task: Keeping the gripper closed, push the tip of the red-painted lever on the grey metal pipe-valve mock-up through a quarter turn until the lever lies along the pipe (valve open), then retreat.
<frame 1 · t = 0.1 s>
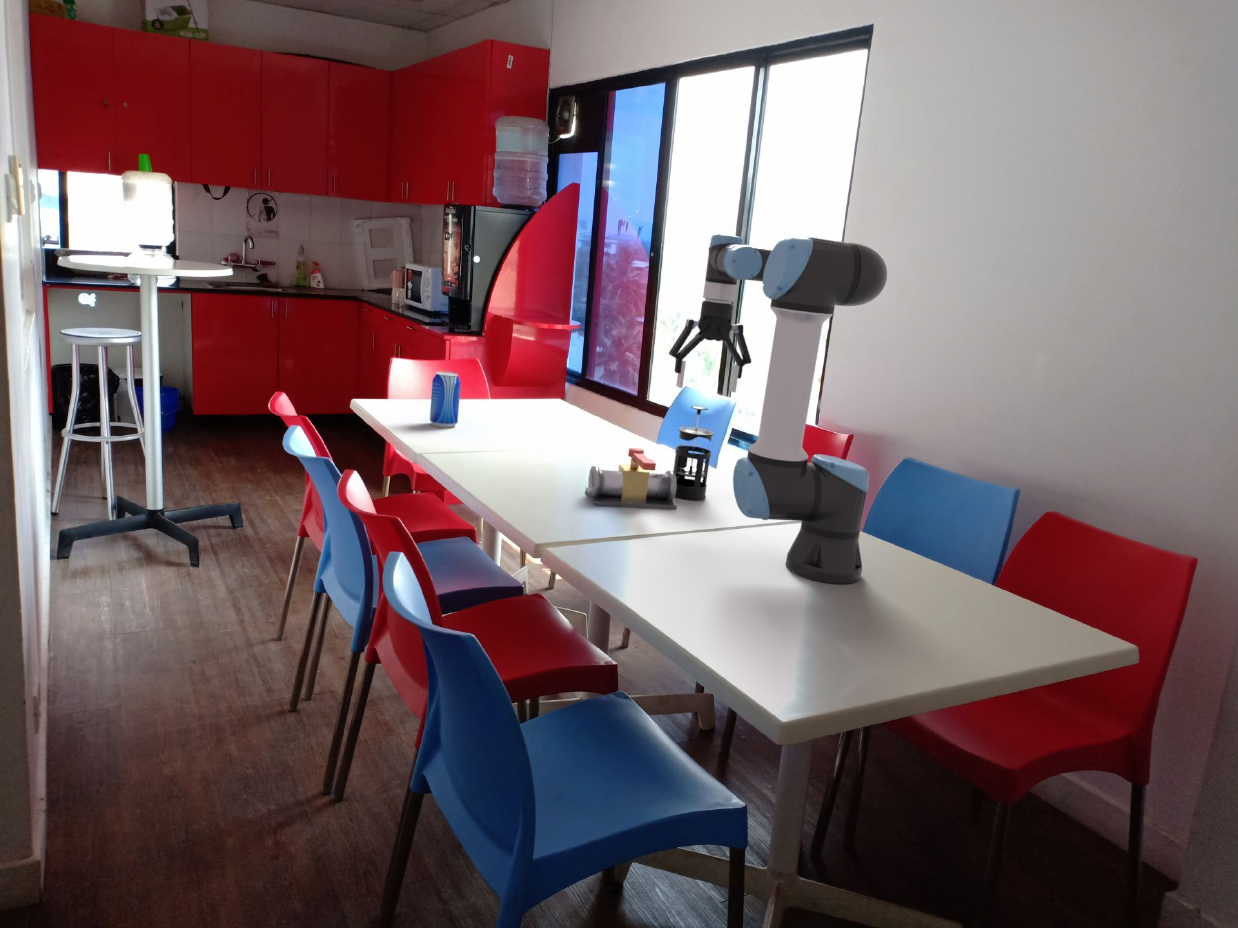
hand: (705, 389, 225), 28 cm above the table, fingers open, 13 cm apart
valve body: (630, 500, 224), on the table
lever: (641, 458, 216), point 12 cm above the table, hinge at 90.0°
beer can: (443, 425, 283), on the table
french press: (686, 495, 236), on the table
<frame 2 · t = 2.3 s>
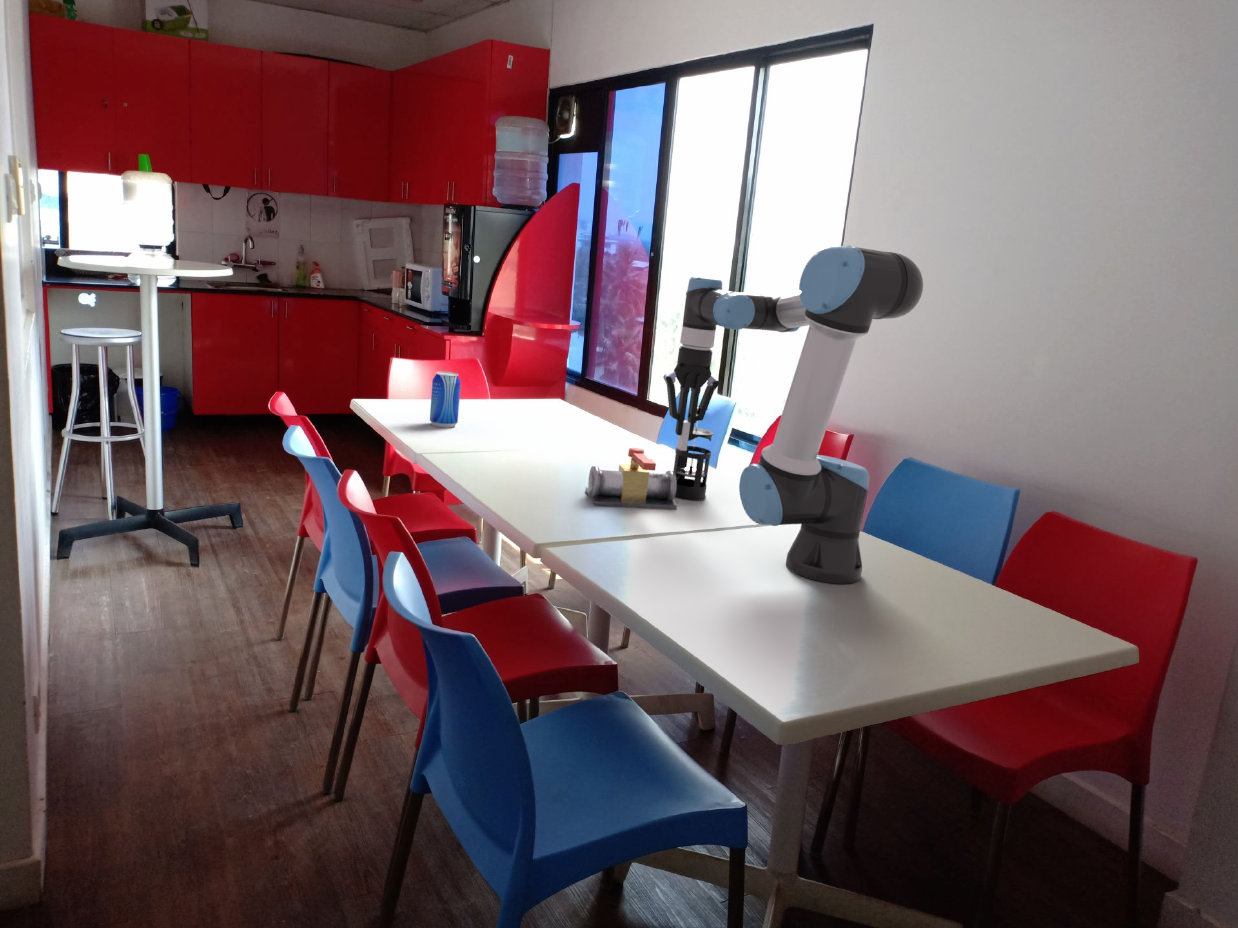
hand: (681, 449, 213), 16 cm above the table, fingers closed
nothing on the table moved.
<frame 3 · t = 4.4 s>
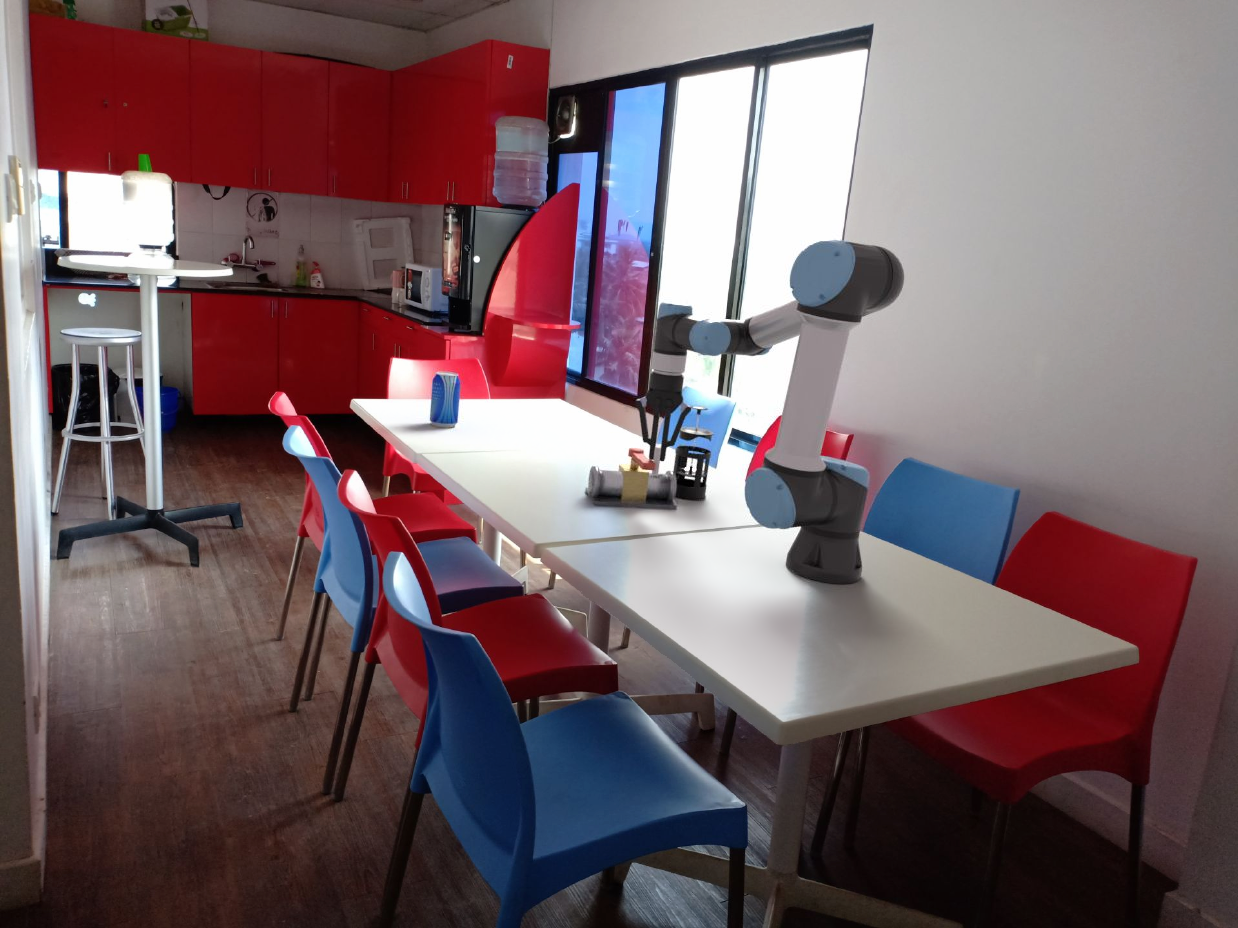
hand: (654, 473, 213), 10 cm above the table, fingers closed
lever: (641, 458, 216), point 12 cm above the table, hinge at 89.2°, touching gripper
everything else where it was.
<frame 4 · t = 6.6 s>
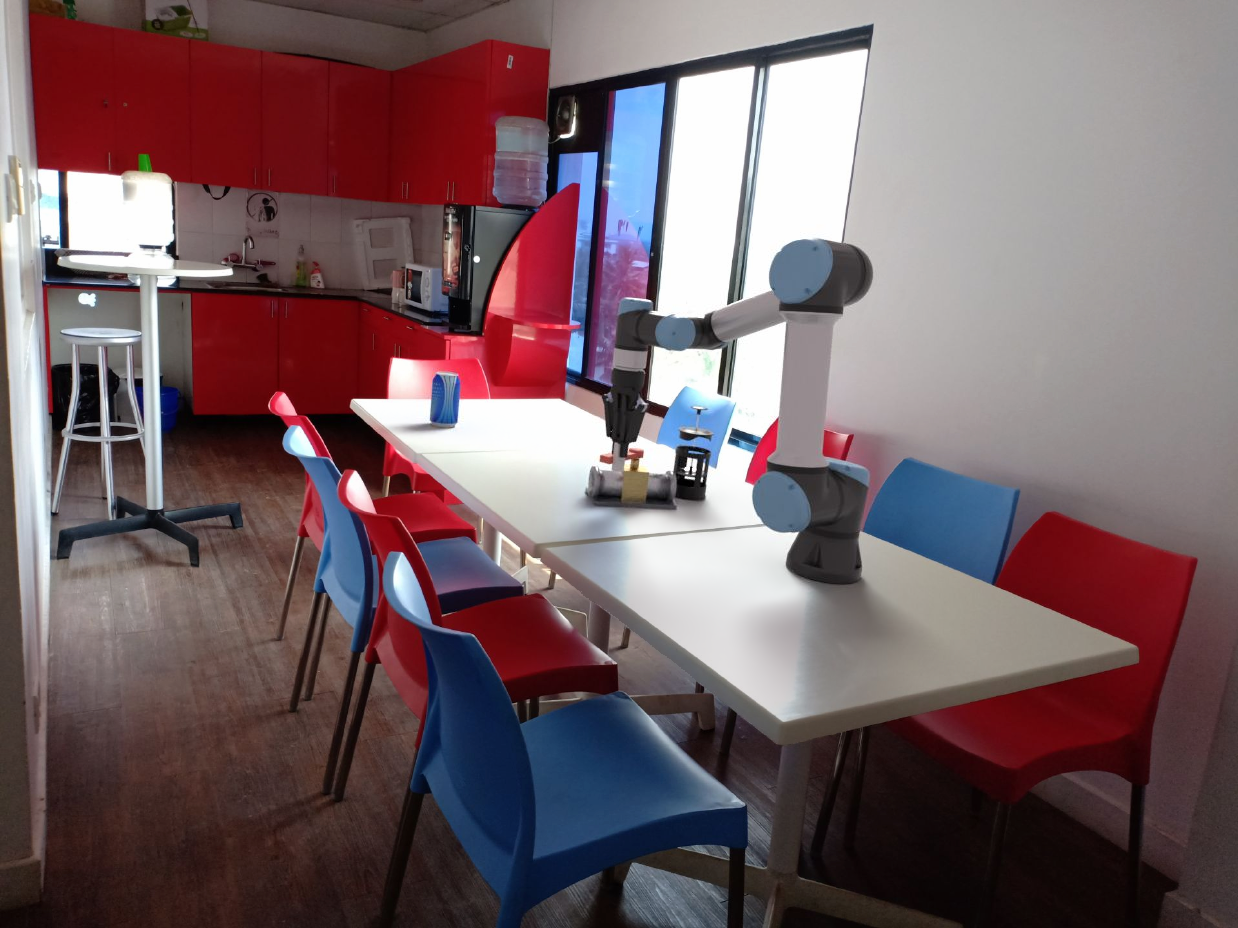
hand: (617, 470, 212), 9 cm above the table, fingers closed
lever: (623, 455, 217), point 12 cm above the table, hinge at 42.9°, touching gripper
everything else where it was.
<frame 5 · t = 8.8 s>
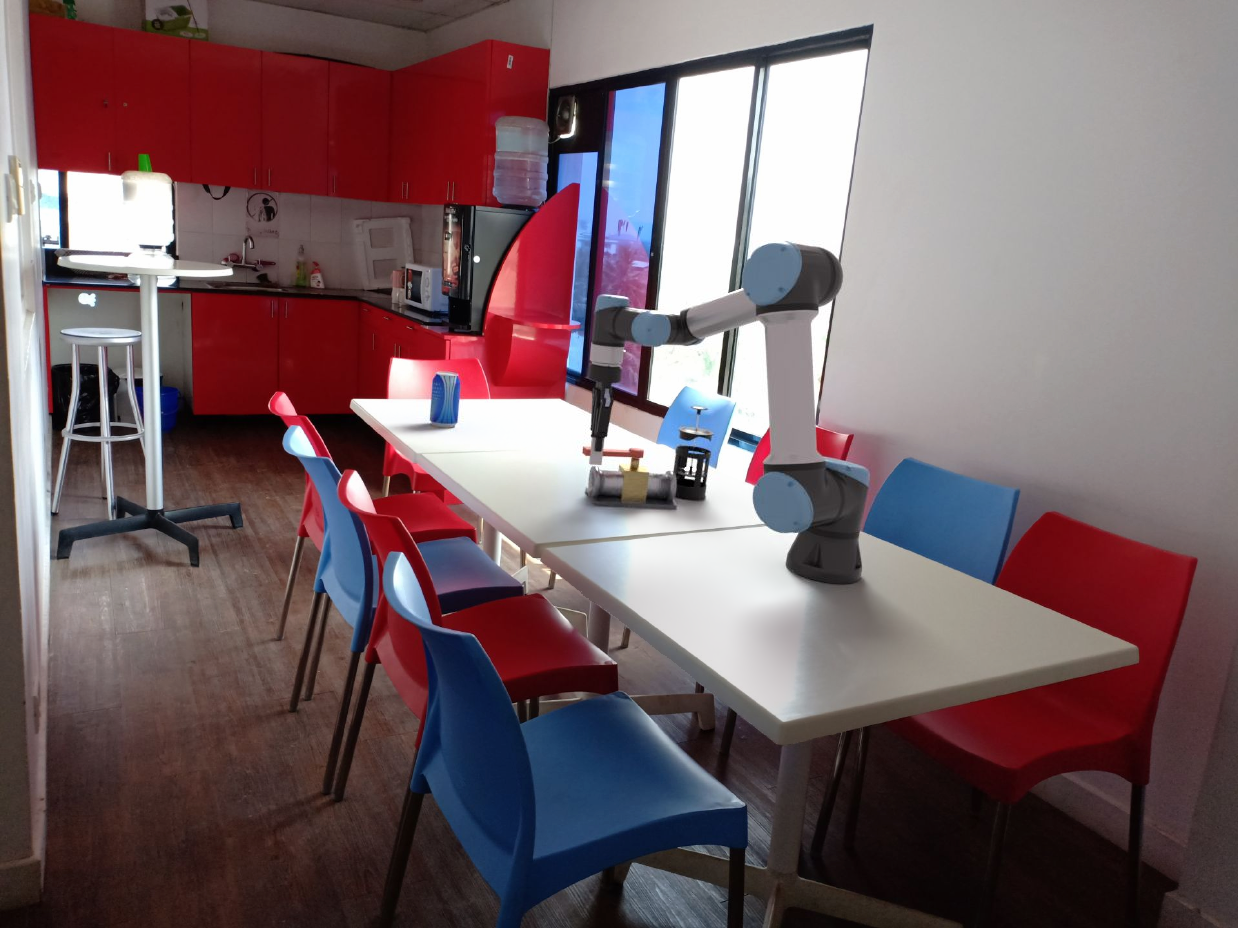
hand: (595, 463, 216), 9 cm above the table, fingers closed
lever: (614, 452, 219), point 12 cm above the table, hinge at 6.9°, touching gripper
everything else where it was.
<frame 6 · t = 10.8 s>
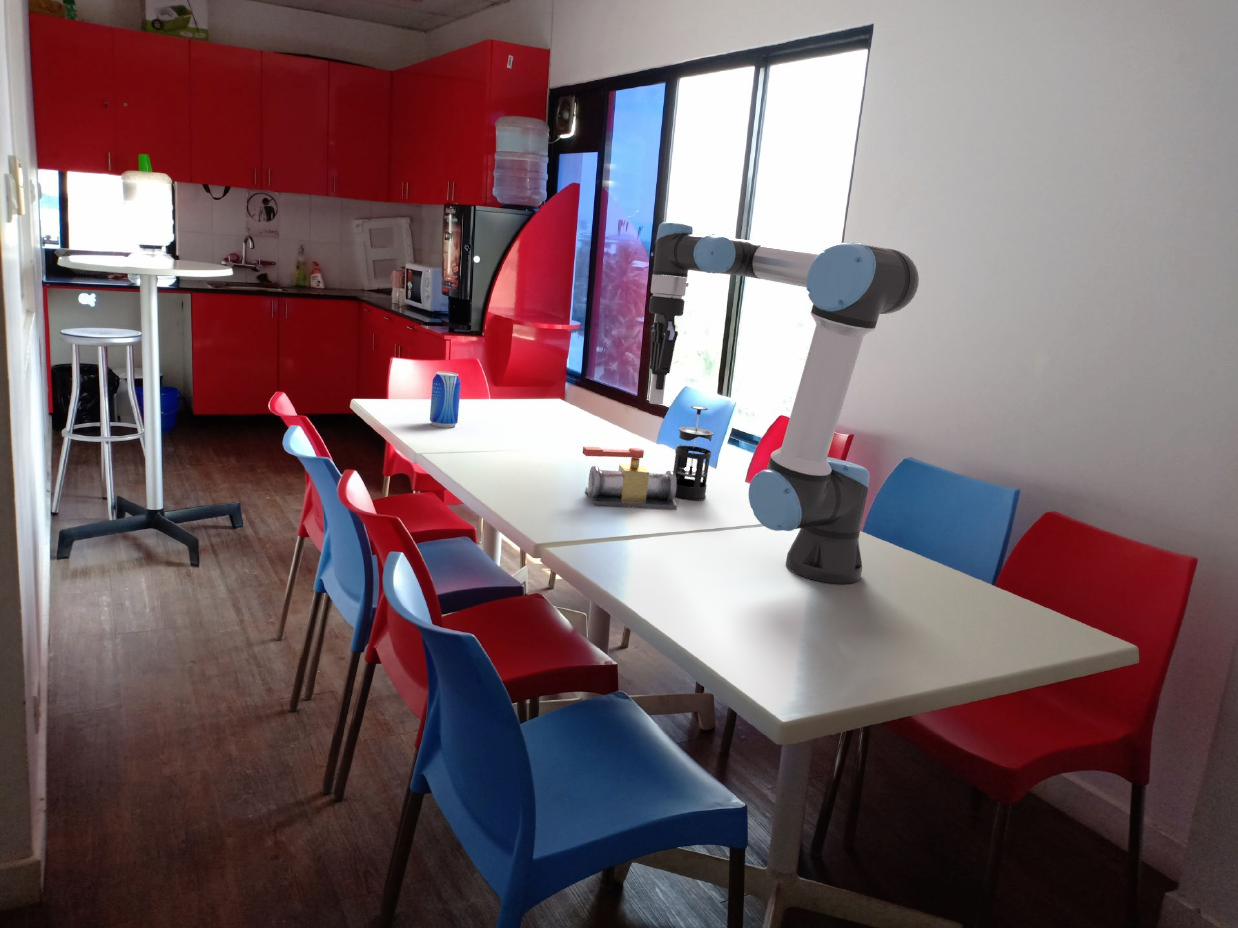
hand: (655, 403, 206), 26 cm above the table, fingers closed
lever: (614, 452, 219), point 12 cm above the table, hinge at 7.5°
everything else where it was.
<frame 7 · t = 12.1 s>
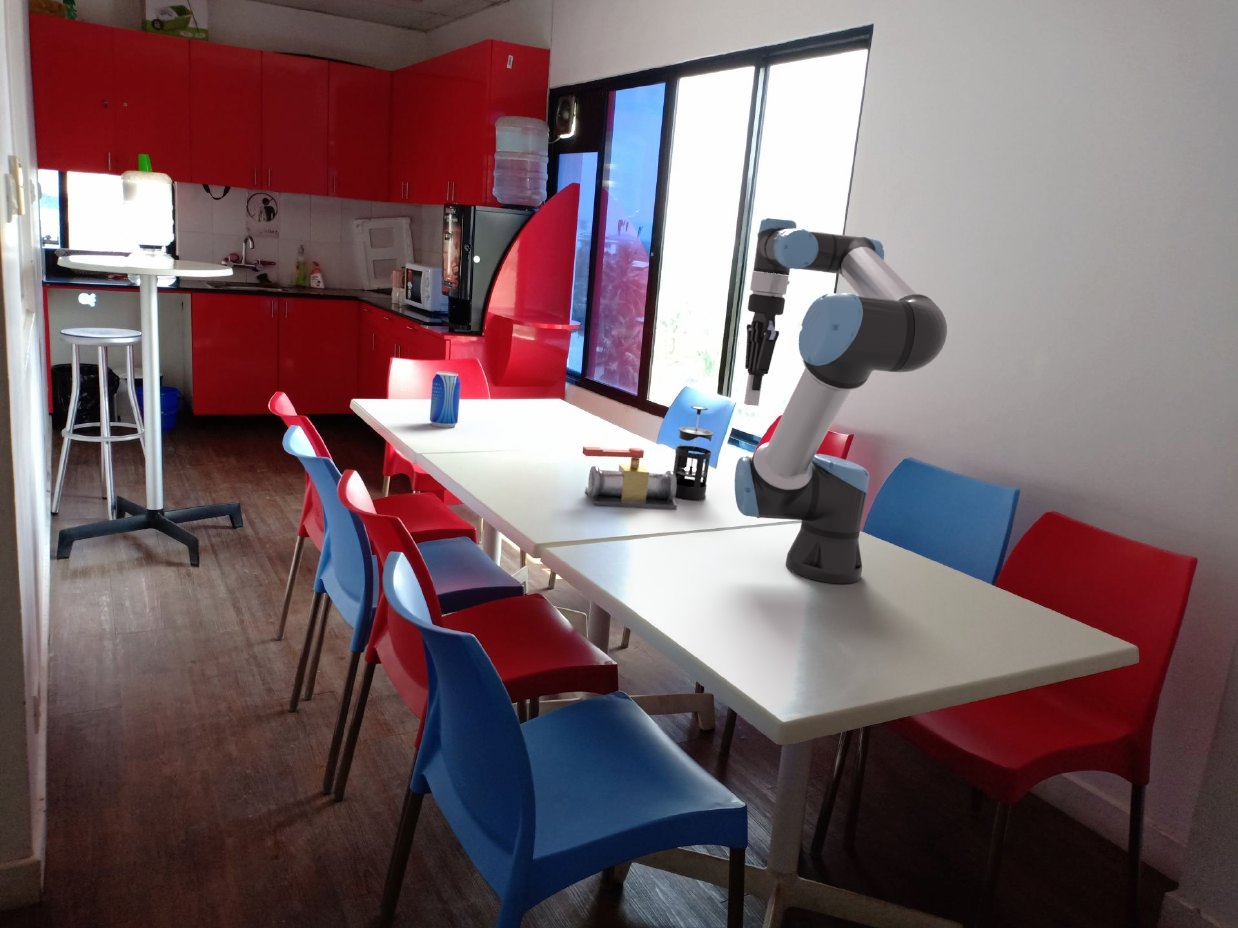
hand: (751, 404, 200), 29 cm above the table, fingers closed
nothing on the table moved.
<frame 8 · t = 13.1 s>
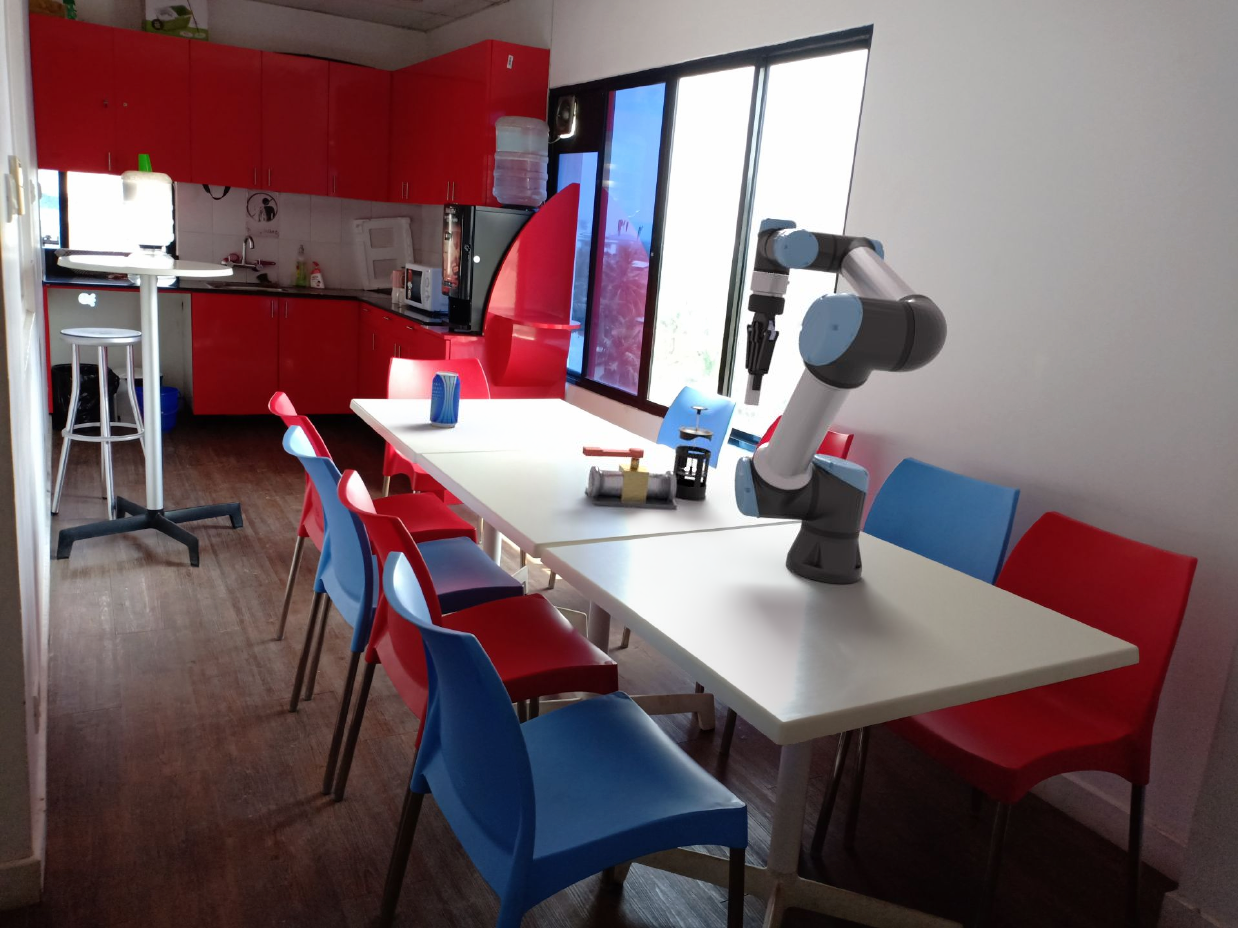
hand: (751, 404, 200), 29 cm above the table, fingers closed
nothing on the table moved.
at the end: lever at +8° (first picture: +90°); lever touching nothing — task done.
